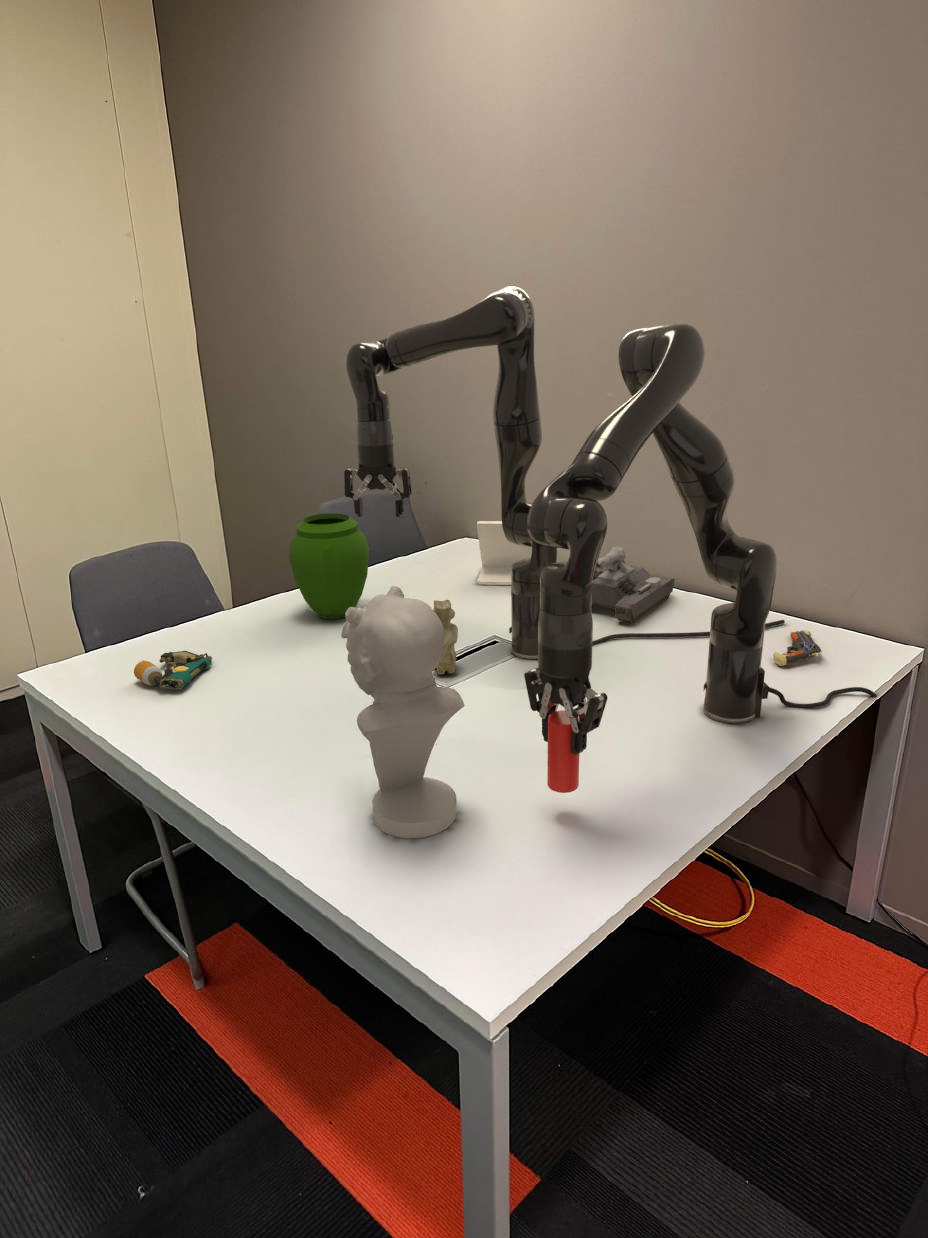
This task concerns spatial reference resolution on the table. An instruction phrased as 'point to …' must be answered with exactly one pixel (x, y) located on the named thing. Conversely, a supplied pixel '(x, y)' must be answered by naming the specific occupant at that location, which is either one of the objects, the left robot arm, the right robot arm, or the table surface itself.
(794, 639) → the toy gun
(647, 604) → the toy
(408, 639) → the bust sculpture
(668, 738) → the table surface
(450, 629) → the sculpture
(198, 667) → the spray gun
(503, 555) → the tablet stand
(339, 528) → the vase
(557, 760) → the red cylinder
